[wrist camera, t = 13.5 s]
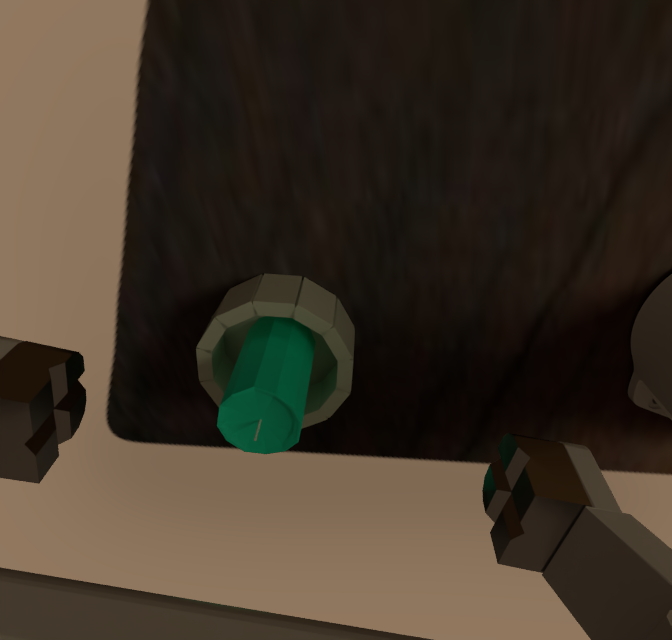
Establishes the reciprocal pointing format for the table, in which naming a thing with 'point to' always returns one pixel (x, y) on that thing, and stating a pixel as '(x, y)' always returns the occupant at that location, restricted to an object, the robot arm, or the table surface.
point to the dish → (293, 302)
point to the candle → (268, 387)
